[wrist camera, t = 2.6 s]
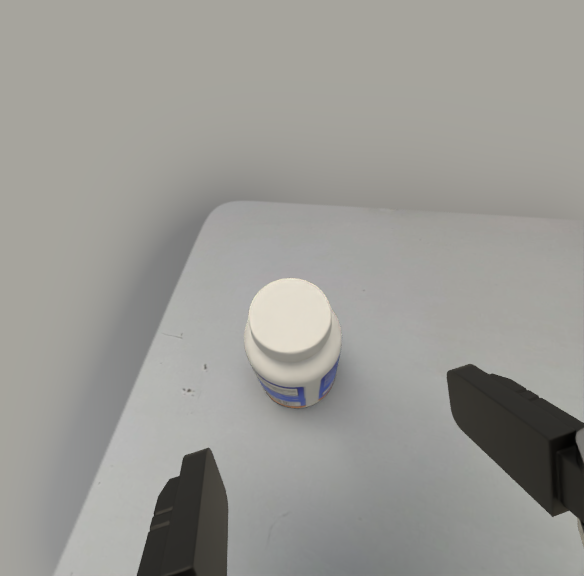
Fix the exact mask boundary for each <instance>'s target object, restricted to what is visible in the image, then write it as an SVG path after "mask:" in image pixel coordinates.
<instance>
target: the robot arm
mask: <svg viewBox="0 0 584 576" xmlns="http://www.w3.org/2000/svg"><path fill="white" fill-rule="evenodd" d="M447 383H448V390H449V398H450V405H451V411H452V415H453V417H454V420H455V421H456V423H457V425H458V426H459V428H460V429H461V430H462V431H463V432H464V433H465V434H466V435H467V436H468V437H469V438H470V439H472V440H473V441H474V442H475V443H476V444H477V445H478V446H479V447H480V448H481V449H482V450H483V451H484V452H485V453H486V454H487V455H488V456H489V457H490V458H491V459H493V460H494V461H495V462H496V463H497V464H498V465H499V466H500V467H501V468H502V469H503V470H504V471H505V472H506V473H507V474H508V475H509V476H510V477H511V478H512V479H513V480H515V481H516V482H517V483H518V484H519V485H520V486H521V487H522V488H523V489H524V490H525V491H526V492H527V493H528V494H529V495H530V496H531V497H532V498H533V499H534V500H536V501H537V502H538V503H539V504H540V505H541V506H542V507H543V508H544V509H545V510H546V511H547V512H548V513H549V514H550V515H551V516H552V517H554V516H556V515H559V514H561V513H564V512H567V511H569V510H570V511H571V512H572V513H573V514H574V515H575V516H576V517H577V521H578V529H579V533H580V536H581V540H582V543H583V547H584V423H583V422H581V421H579V420H578V419H576V418H574V417H573V416H571V415H569V414H568V413H566V412H564V411H563V410H561V409H559V408H558V407H556V406H554V405H553V404H551V403H549V402H548V401H546V400H544V399H543V398H539V397H538V395H536V394H534V393H533V392H531V391H529V390H528V391H527V390H526V388H524V387H523V386H521V385H519V384H518V383H516V382H514V381H513V380H511V379H508V378H505V377H502V376H498V375H495V374H490V375H489V374H487V373H485V372H484V371H482V370H481V369H479V368H478V367H476V366H474V365H472V364H468V365H465V366H462V367H459V368H456V369H452V370H449V371H448V372H447ZM227 541H228V501H227V495H226V490H225V487H224V484H223V481H222V478H221V476H220V473H219V470H218V467H217V465H216V462H215V459H214V456H213V454H212V451H211V450H210V448H206V449H203V450H200V451H197V452H194V453H191V454H188V455H185V456H184V458H183V462H182V466H181V471H180V476H178V477H175V478H172V479H169V481H168V482H167V484H166V485H165V487H164V488H163V490H162V491H161V493H160V494H159V496H158V499H157V503H156V507H155V511H154V517H153V518H152V522H151V525H150V532H149V533H148V536H147V540H146V544H145V547H144V551H143V555H142V559H141V562H140V566H139V570H138V573H137V576H227Z"/></svg>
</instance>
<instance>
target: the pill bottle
mask: <svg viewBox="0 0 584 576" xmlns="http://www.w3.org/2000/svg"><path fill="white" fill-rule="evenodd" d="M244 345H245V351H246V354H247V357H248V359H249V362H250V364H251V366H252V368H253V370H254V371H255V373H256V375H257V377H258V379H259V381H260V383H261V385H262V386H263V388H264V390H265V391H266V393H267V394H268V395H269V396H270V398H271V399H272V400H274V401H275V402H277V403H279V404H281V405H283V406H286V407H290V408H304V407H308V406H311V405H314V404H316V403H317V402H319V401H320V400H321V399H323V398H324V397H325V396H326V395H327V393H328V392H329V390H330V389H331V387H332V385H333V382H334V379H335V375H336V370H337V365H338V361H339V357H340V352H341V346H342V332H341V326H340V323H339V320H338V318H337V316H336V314H335V313H334V311H333V310H332V309H331V306H330V303H329V301H328V299H327V297H326V296H325V294H324V293H323V292H322V291H321V290H320V289H319V288H318V287H317V286H315V285H314V284H312V283H310V282H308V281H305V280H302V279H296V278H285V279H280V280H277V281H274V282H272V283H270V284H268V285H266V286H265V287H263V288H262V289H261V290H260V291H259V292H258V293H257V294H256V296H255V297H254V299H253V301H252V302H251V305H250V308H249V314H248V322H247V325H246V328H245V334H244Z"/></svg>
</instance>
